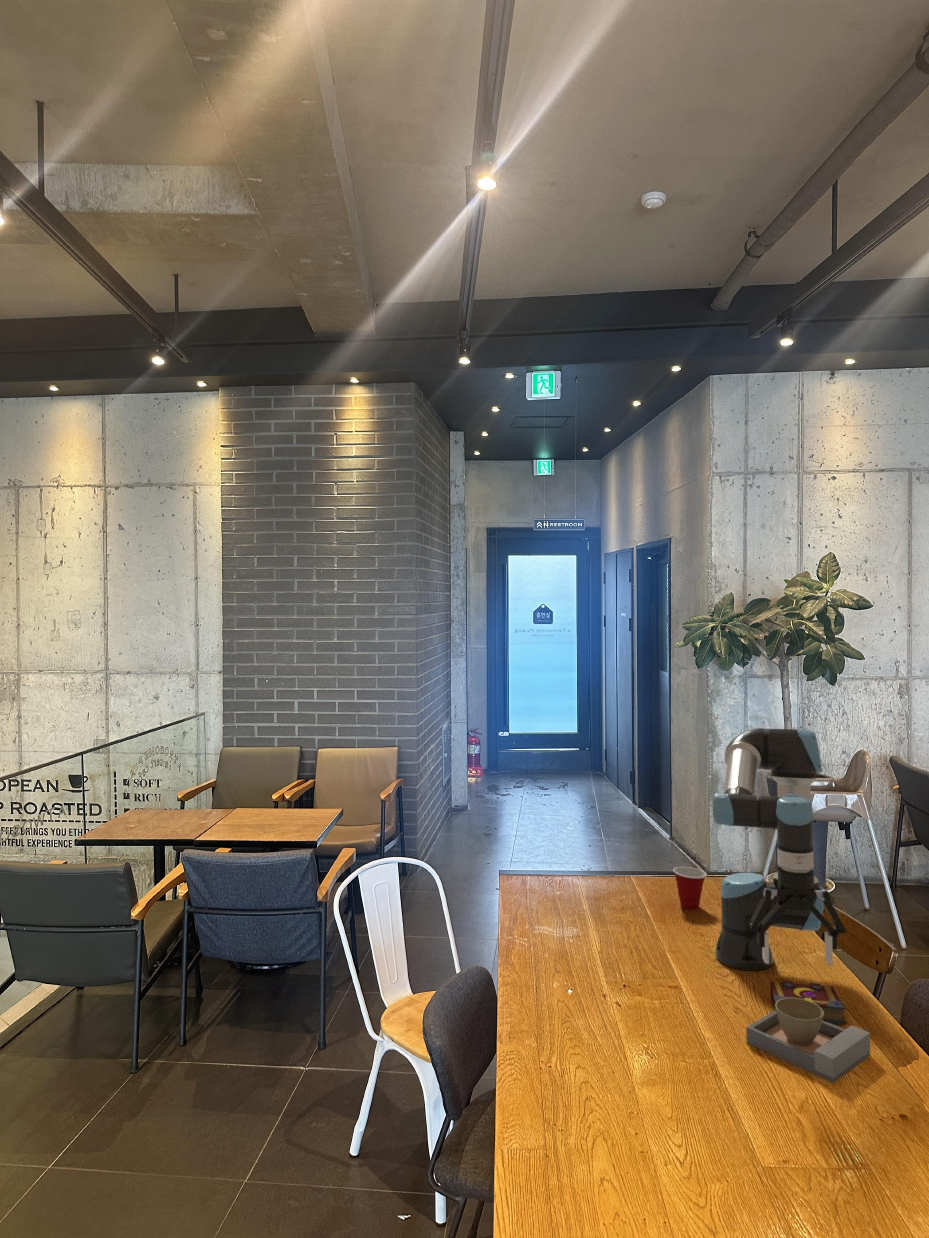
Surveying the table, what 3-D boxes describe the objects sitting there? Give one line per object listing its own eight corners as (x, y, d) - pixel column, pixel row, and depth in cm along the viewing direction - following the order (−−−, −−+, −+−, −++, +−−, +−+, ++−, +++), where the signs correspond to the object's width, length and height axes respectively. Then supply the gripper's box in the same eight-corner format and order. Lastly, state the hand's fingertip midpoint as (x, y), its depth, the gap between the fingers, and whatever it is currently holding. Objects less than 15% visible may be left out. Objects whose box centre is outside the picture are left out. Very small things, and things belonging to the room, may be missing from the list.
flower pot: (775, 1047, 174) (775, 1014, 174) (776, 1025, 183) (775, 994, 183) (825, 1055, 170) (824, 1022, 170) (823, 1032, 179) (822, 1001, 179)
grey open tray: (784, 1019, 188) (784, 998, 188) (870, 1055, 172) (869, 1032, 172) (746, 1042, 178) (746, 1020, 178) (833, 1082, 162) (833, 1058, 162)
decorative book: (769, 997, 199) (769, 978, 199) (838, 1003, 195) (838, 983, 195) (777, 1020, 188) (776, 999, 188) (850, 1026, 184) (849, 1005, 184)
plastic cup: (711, 912, 256) (711, 875, 256) (678, 912, 256) (677, 876, 256) (702, 900, 267) (701, 865, 267) (670, 900, 267) (669, 865, 267)
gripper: (741, 871, 174) (743, 967, 174) (860, 874, 171) (862, 971, 171) (734, 861, 182) (736, 952, 182) (847, 863, 179) (849, 956, 179)
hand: (797, 962), depth 177 cm, fingers open, 13 cm apart
